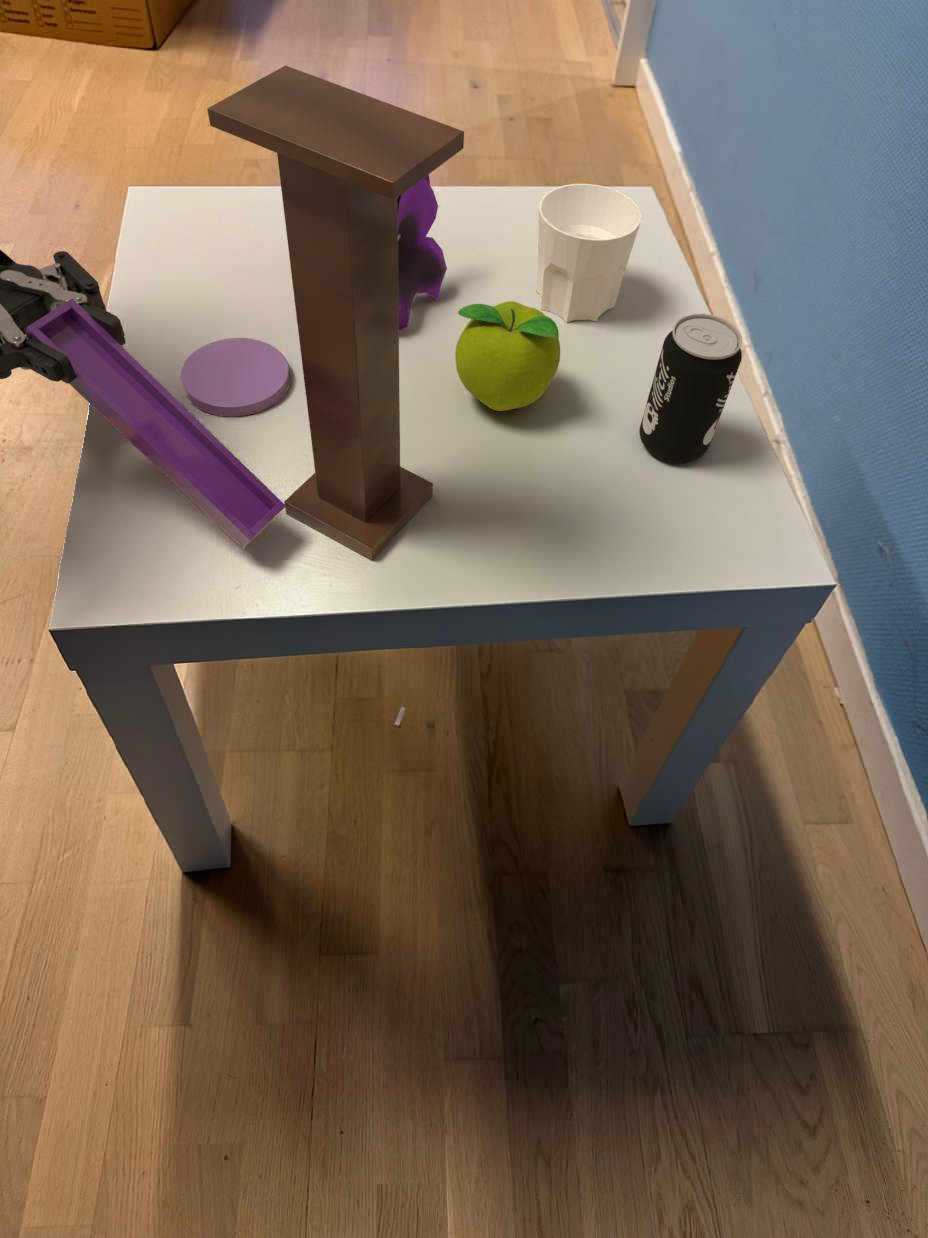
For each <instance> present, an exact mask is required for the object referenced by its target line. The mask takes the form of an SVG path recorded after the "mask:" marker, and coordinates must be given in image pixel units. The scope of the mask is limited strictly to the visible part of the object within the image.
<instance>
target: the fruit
mask: <svg viewBox="0 0 928 1238" xmlns="http://www.w3.org/2000/svg"><path fill="white" fill-rule="evenodd" d="M457 314H458V315H459V316H460V317H463V318H466V319H469V321H468V322H467V324H466V325H465V327H464V329H463V330H462V331H461V333H460V335H459V338H458V340H457V342H456V346H455V352H454V353H455V354H454V355H455V358H454V359H455V367H456V372H457V374H458V377H459V379H460V382H461V383H462V385H463V387H464V388H465V389H466V390H467V392H468V393H469V394H471V395H472V396H473V397H474V398H476V399H477V401H479V402H481V403H482V404H483V405H485V406H486V407H488V408H489V409H490V410H491V409H492V410H493V411H497V412H504V411H510V410H513V409H521V408H525V407H527V406H529V405H531V404H533V403H534V402H536V401H537V400H538V399H540V398H541V397H542V396H543V394H544V393H545V392H546V391H547V389H548V388H549V386H550V384H552V381H553V379H554V377H555V375H556V373H557V371H558V368H559V365H560V360H561V343H560V339H559V335H560V333H559V327H558V325H557V323H556V322H555V321H554V320H553V318H551V317H549V316H546V315H545V314H544V313H543V312H542V310H539V309H537V308H535V307H530V306H528V305H524V304H522V303H520V302H517V301H513V300H510V301H509V300H508V301H504V302H501V303H498V304H496V305H493V306H492V305H490V304H484V303H471V304H468V305H465V306H463V307H461V308H460V309H459V310H458V311H457Z"/></svg>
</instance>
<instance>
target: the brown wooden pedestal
mask: <svg viewBox="0 0 928 1238" xmlns="http://www.w3.org/2000/svg"><path fill="white" fill-rule="evenodd" d="M206 109H207V110H206V111H207V115H208V121H209V125H210V127H211V128H215V129H218V130H220V131H221V132H224V133H227V134H229V135H231V136H234V137H236V138H239V139H241V140H244V141H247V142H249V143H251V144H254V145H256V146H259V147H262V148H264V149H267V150H269V151H272V152H273V153H276V155H277V164H278V173H279V181H280V189H281V190H280V191H281V197H282V206H283V207H282V208H283V215H284V222H285V230H286V231H285V233H286V239H287V248H288V256H289V265H290V273H291V274H290V275H291V281H292V290H293V299H294V306H295V315H296V323H297V331H298V341H299V349H300V356H301V365H302V373H303V381H304V389H305V400H306V406H307V416H308V423H309V432H310V441H311V449H312V458H313V466H314V473H313V474H312V475H311V476H310V477H308V478H307V480H306V481H305V482H303V483H302V484H301V485H300V486H299V487H298V488H297V489H296V490H295V491H294V492H293V493H292V494H291V495H290V496H288V497H287V498H286V499H285V500H284V502H283V503H284V504H285V505H286V507H285V508H284V510H285V514H286V515H288V516H290V517H291V518H293V519H295V520H297V521H299V522H300V523H303V524H304V525H306V526H308V527H310V528H311V529H313V530H315V531H317V532H319V533H321V534H322V535H325V536H326V537H328V538H329V539H332V540H333V541H335V542H337V543H338V544H341V545H343V546H344V547H346V548H347V549H350V550H351V551H354V552H355V553H358V555H361V556H363V557H364V558H366V559H368V560H370V561H374V559H375V558H376V557H377V556H378V555H379V554H380V553H381V552H382V551H383V550H384V548H385V547H387V545H388V544H389V543H390V542H391V541H392V540H393V539H394V537H396V536H397V534H398V533H399V532H400V531H401V530H402V529H403V528H404V527H405V526H406V525H407V524H408V523H409V521H410V520H411V519H412V518H413V517H414V516H415V515H416V514H417V512H419V511H420V510H421V509H422V508H423V506H425V504H426V503H427V502H428V501H429V500H430V499H431V498H432V497H433V495H434V483H433V482H431V481H429V480H427V479H425V478H424V477H422V476H420V475H418V474H416V473H414V472H412V471H410V470H407V469H406V468H404V467H402V466H401V420H400V419H401V417H400V416H401V415H400V414H401V413H400V411H401V410H400V409H401V408H400V407H401V406H400V405H401V403H400V401H401V400H400V330H399V308H398V217H397V198H398V197H399V196H400V195H402V194H403V193H404V192H406V191H407V190H408V189H410V188H411V187H412V186H414V185H415V184H416V183H418V182H419V181H420V180H422V179H423V178H424V177H426V176H427V175H428V174H429V175H430V174H431V173H432V172H434V171H435V170H436V169H438V168H439V167H441V166H442V165H443V164H445V163H446V162H447V161H449V160H450V159H452V158H453V157H454V156H455V155H457V154H458V153H459V152H461V151H462V150H464V146H465V131H464V130H462V129H459V128H457V127H454V126H450V125H448V124H445V123H443V122H440V121H437V120H435V119H431V118H429V117H426V116H424V115H421V114H418V113H416V112H413V111H410V110H407V109H404V108H402V107H400V106H397V105H393V104H391V103H389V102H386V101H384V100H380V99H378V98H375V97H372V96H369V95H367V94H364V93H362V92H358V91H356V90H354V89H351V88H348V87H345V86H344V85H343V86H342V85H340V84H337V83H334V82H332V81H329V80H326V79H323V78H321V77H319V76H316V75H313V74H311V73H307V72H305V71H302V70H300V69H296V68H294V67H291V66H289V65H283V66H282V67H280V68H278V69H276V70H274V71H273V72H271V73H269V74H267V75H265V76H263V77H262V78H260V79H258V80H256V81H254V82H252V83H251V84H249V85H247V86H245V87H244V88H242V89H239V90H238V91H236V92H235V93H232V94H231V95H229V96H227V97H225V98H224V99H222V100H220V101H218V102H216V103H214V104H213V105H211V106H209V107H207V108H206Z"/></svg>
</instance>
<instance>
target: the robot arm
mask: <svg viewBox="0 0 928 1238" xmlns="http://www.w3.org/2000/svg"><path fill="white" fill-rule="evenodd" d="M52 255H53V261H54V263H52V264H50V265H47V266H45V267H42V268H37V267H36V266H34V265H32V264H31V265H30V264H22V263H18V262H15V260H14V259H12V258H11V257H10V256H9V255H8V254H7V253H5V252H4V251H3V250H1V249H0V380H5V379H7V378H10V377H11V376H12V374H13V372H12V370H16V369H18V368H20V369H21V370H25V371H29V370H31V371H33V372H35V373H36V374H38V375H40V376H42V377H44V378H46V379H48V380H49V381H50V382H51V381H52V382H56V383H59V382H60V381H61V382H63V383H65V384H68V385H70V384H69V383H70V382H72V381H73V380H74V379H76V375H75V372H74V369H73V367H72V364H71V362H70V360H69V358H68V357H67V356H66V355H64V354H63V353H61V352H59V351H57V350H55V349H53V348H51V347H50V346H48V345H46V344H44V343H42V342H40V341H38V340H36V339H34V338H31V339H29V340H27V339H26V330H27V327H28V326H29V325H31V324H33V323H34V322H36V321H37V320H39V319H41V318H42V317H44V316H45V315H47V314H48V313H50V312H52V311H53V310H55V309H56V308H58V307H59V306H61V305H63V304H64V303H66V302H67V301H69V300H70V299H74V300H75V301H76V302H77V303H78V304H79V305H80V306H81V307H82V308H83V309H84V310H85V311H86V312H87V313H88V314H89V315H90V316H91V317H92V318H93V319H94V320H95V321H96V322H97V323H98V324H99V325H100V326H101V327H102V328H103V329H104V330H105V331H106V332H107V333H108V334H109V335H110V336H112V337H113V338H114V339H115V340H116V341H117V342H118V343H119V344H120V345H121V346H122V347H123V346H124V345H126V343H127V342H126V341H127V340H126V338H125V332H124V327H123V325H122V322H121V321H122V320H121V319H120V318H119V316H117V315H115V314H114V313H112V312H109V311H107V307H106V304H105V303H104V299H103V296H102V294H101V290H100V285H99V282H98V281H97V280H96V279H95V277H93V276H92V275H91V274H90V272H89V271H87V270H86V269H85V268H84V267H83V266H82V265H81V264H80V263H79V262H78V261H77V260H76V259H75V258H74V257H73V256H72V255H71V254H70V252H68V251H65V250H59V251H56V252H55V253H53V254H52Z"/></svg>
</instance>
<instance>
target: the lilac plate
mask: <svg viewBox="0 0 928 1238" xmlns="http://www.w3.org/2000/svg"><path fill="white" fill-rule="evenodd" d="M180 382H181V386H182V390H183V393H184V395H185V397H186V399H187V400H188V401H189V402H190V403H191V404H192V405H193V406H194V407H196V408H197V409H198V410H201V411H203V412H205V413H208V414H210V415H214V416H218V417H227V418H228V417H229V418H236V417H245V416H250V415H254V414H258V413H261V412H263V411H266V410H267V409H269V408H271V407H273V406H274V405H276V404H278V402H279V401H280V400H281V399H282V398H283V397H284V396H285V394H286V393H287V391H288V389H289V386H290V383H291V373H290V368H289V363H288V360H287V359H286V356H285V355H284V354H283V353H282V352H281V351H280V350H279V349H278V348H276V346H273V345H271V344H270V343H267V342H266V341H262V340H259V339H254V338H247V337H232V338H231V337H230V338H222V339H219V340H215V341H213V342H209V343H207V344H204V345H203V346H201V347H199V348H197V349H196V350H195V351H194V352H192V353H191V354H190V355H189V356H188V357H187V358H186V360H185V361H184V363H183V364H182V367H181V371H180Z"/></svg>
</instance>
